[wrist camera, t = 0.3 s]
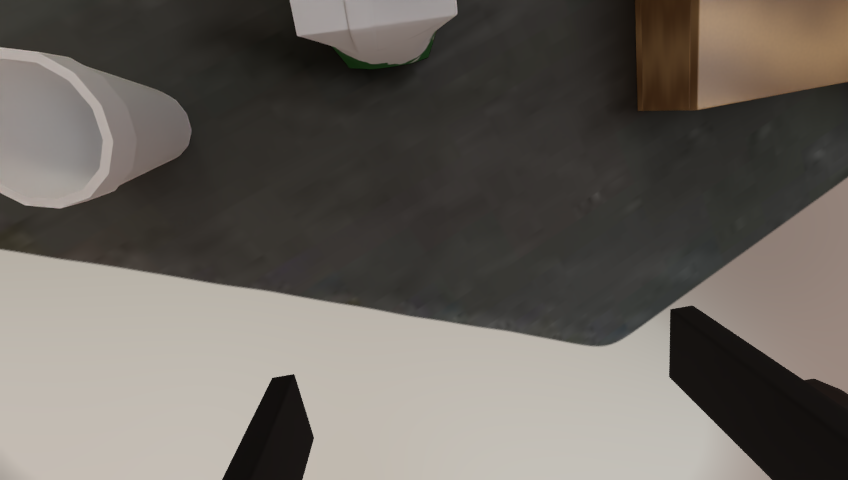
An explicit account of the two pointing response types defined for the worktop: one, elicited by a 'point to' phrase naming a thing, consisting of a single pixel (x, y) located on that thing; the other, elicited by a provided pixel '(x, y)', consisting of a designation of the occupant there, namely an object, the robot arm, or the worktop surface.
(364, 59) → the milk carton
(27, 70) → the foam cup
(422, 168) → the worktop surface
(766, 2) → the cabinet
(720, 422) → the robot arm
